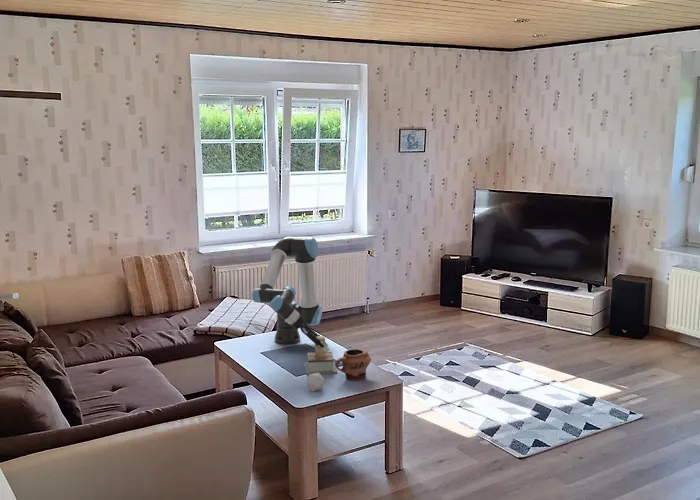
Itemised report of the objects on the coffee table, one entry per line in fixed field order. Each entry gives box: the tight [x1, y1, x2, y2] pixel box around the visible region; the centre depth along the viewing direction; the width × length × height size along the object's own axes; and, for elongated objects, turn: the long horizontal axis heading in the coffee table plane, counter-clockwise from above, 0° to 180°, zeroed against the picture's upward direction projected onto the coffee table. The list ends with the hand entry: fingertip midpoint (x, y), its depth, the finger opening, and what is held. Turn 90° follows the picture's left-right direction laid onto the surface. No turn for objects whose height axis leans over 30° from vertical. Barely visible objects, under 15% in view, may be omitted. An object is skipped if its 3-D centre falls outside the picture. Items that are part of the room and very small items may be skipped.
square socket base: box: [303, 361, 338, 376], centre depth 340 cm, size 16×16×6 cm
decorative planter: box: [335, 348, 372, 381], centre depth 326 cm, size 20×12×14 cm, turn 125°
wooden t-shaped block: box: [306, 335, 335, 363], centre depth 339 cm, size 13×13×11 cm
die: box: [305, 373, 326, 392], centre depth 312 cm, size 8×9×10 cm
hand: (327, 348), depth 340 cm, fingers open, 6 cm apart
